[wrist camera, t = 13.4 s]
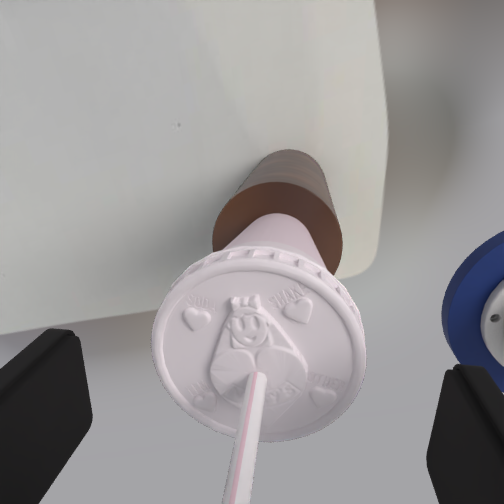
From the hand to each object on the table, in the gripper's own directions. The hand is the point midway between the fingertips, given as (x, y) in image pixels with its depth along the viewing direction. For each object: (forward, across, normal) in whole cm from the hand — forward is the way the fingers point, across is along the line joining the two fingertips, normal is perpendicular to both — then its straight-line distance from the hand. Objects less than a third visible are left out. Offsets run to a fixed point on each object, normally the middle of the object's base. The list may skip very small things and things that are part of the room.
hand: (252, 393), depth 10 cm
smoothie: (+11, 0, 0) cm, 11 cm away
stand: (+27, 0, 0) cm, 27 cm away
